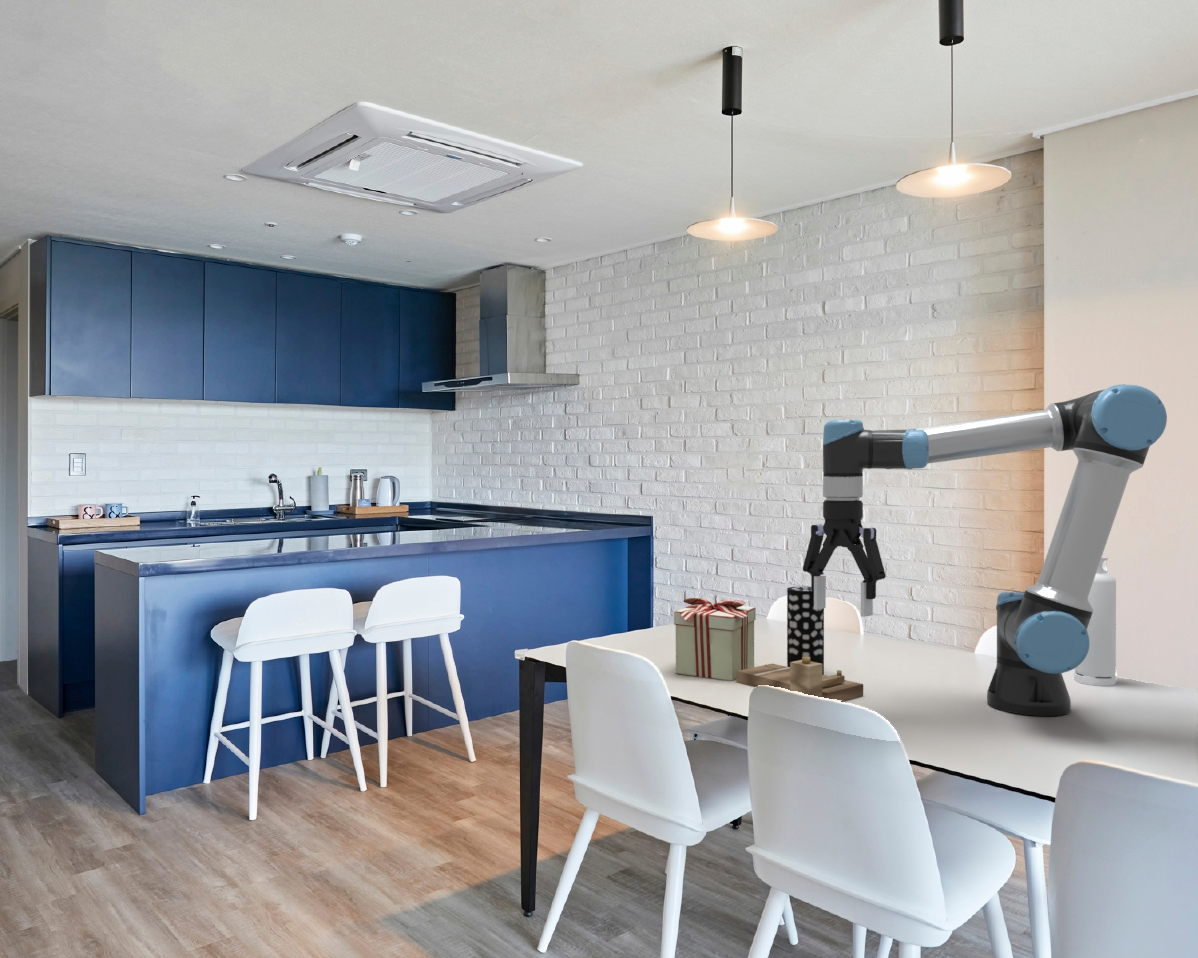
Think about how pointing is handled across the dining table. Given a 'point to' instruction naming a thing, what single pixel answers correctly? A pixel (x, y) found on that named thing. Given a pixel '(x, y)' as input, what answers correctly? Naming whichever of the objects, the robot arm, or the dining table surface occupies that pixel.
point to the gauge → (811, 677)
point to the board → (781, 678)
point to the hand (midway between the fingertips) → (842, 612)
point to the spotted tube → (804, 626)
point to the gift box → (714, 638)
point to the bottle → (1100, 632)
